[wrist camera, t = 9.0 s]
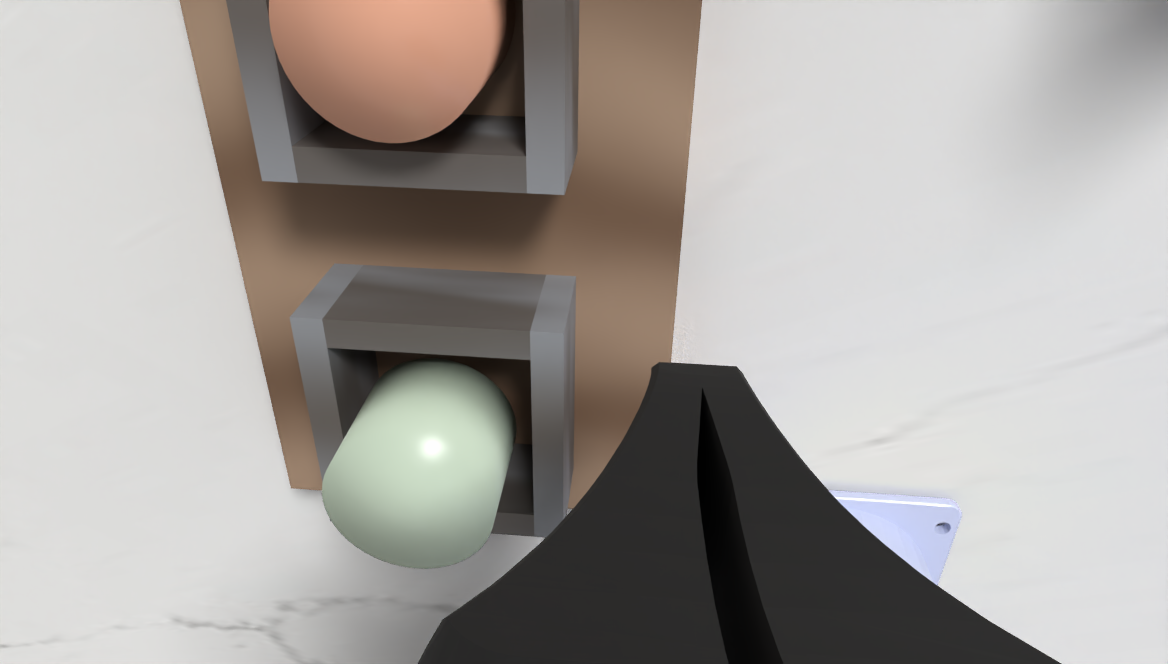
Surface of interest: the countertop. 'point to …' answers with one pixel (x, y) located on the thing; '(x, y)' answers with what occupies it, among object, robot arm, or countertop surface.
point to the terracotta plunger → (391, 60)
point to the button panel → (467, 234)
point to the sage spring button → (423, 465)
